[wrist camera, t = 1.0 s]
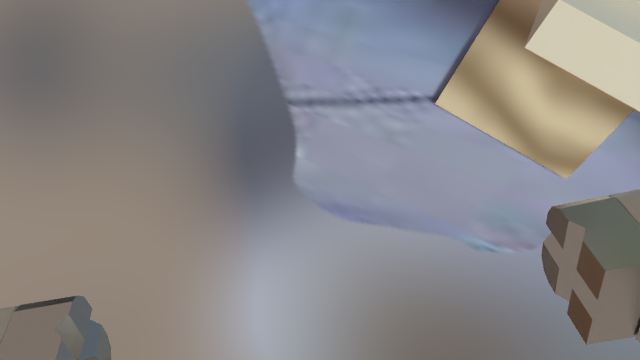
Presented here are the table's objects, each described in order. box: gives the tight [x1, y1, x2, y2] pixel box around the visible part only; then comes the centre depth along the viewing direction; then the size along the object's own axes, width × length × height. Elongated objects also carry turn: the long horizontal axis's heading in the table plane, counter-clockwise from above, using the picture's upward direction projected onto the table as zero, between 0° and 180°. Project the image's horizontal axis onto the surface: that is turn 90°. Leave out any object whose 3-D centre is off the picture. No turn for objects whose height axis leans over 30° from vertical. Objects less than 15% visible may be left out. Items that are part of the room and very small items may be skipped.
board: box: [435, 0, 634, 179], centre depth 50 cm, size 20×15×1 cm
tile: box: [525, 0, 640, 113], centre depth 42 cm, size 4×10×10 cm, turn 70°
